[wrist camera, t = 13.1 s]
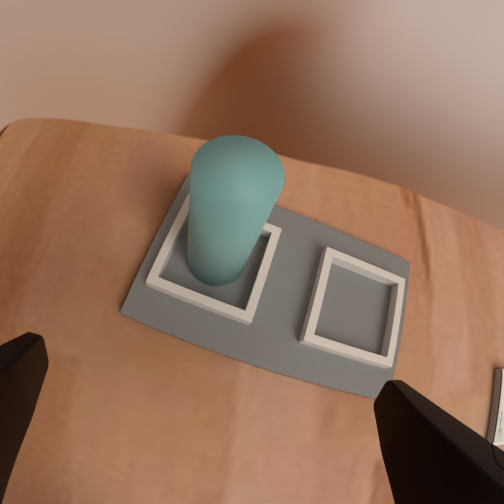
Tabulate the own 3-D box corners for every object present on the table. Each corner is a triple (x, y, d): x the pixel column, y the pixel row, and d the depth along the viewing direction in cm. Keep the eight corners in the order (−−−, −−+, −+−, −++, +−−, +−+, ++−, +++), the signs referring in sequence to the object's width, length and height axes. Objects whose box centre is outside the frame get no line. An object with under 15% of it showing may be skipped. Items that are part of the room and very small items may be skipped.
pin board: (405, 264, 26) (416, 257, 25) (383, 401, 21) (395, 401, 20) (188, 177, 25) (189, 165, 24) (121, 314, 20) (116, 309, 19)
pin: (206, 296, 21) (222, 226, 12) (176, 248, 22) (174, 153, 13) (255, 268, 23) (302, 187, 14) (225, 223, 24) (251, 125, 15)
